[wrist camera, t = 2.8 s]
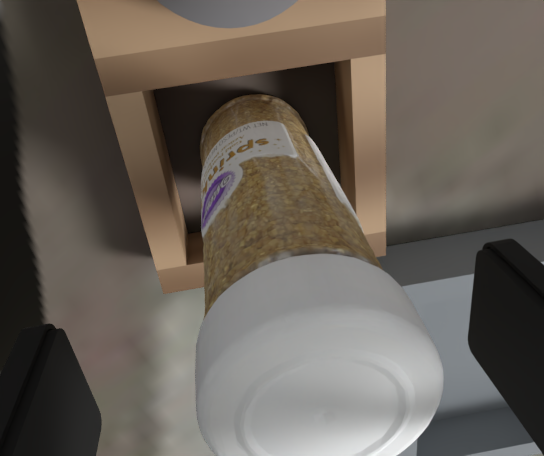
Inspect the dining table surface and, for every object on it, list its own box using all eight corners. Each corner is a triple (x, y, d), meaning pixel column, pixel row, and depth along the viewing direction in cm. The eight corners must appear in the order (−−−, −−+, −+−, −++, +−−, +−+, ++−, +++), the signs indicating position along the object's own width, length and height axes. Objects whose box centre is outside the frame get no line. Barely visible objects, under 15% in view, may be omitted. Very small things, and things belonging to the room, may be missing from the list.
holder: (36, -211, 14) (-41, -284, 10) (357, -251, 14) (426, -338, 10) (167, 260, 22) (158, 337, 18) (368, 226, 23) (408, 293, 18)
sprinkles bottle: (214, 77, 19) (234, 294, 7) (325, 109, 20) (501, 340, 8) (187, 184, 21) (169, 490, 9) (289, 207, 22) (389, 504, 10)
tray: (375, 248, 23) (397, 287, 21) (614, 207, 24) (665, 239, 21) (378, 434, 30) (394, 481, 28) (562, 399, 31) (595, 442, 28)
